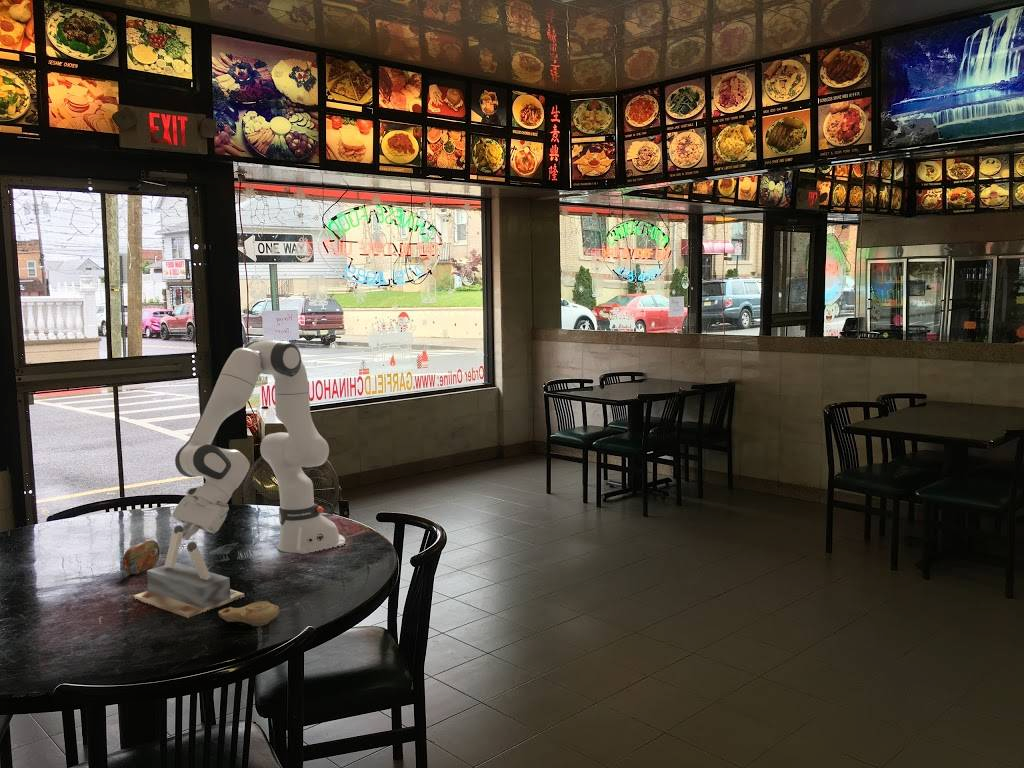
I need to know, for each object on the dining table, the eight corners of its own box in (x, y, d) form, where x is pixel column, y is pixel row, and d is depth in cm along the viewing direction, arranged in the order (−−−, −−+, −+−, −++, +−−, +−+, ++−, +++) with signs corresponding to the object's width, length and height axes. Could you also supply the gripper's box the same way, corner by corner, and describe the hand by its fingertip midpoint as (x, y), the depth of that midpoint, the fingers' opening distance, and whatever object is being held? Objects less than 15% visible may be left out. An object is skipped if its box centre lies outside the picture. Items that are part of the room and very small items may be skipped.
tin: (131, 578, 255) (129, 551, 254) (122, 577, 255) (120, 551, 254) (161, 562, 269) (159, 537, 268) (152, 561, 270) (150, 536, 269)
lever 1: (170, 565, 243) (180, 525, 245) (176, 566, 242) (186, 526, 244) (162, 564, 241) (172, 524, 243) (168, 566, 240) (178, 525, 242)
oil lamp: (217, 623, 218) (216, 605, 218) (271, 611, 226) (270, 593, 225) (227, 637, 209) (226, 618, 209) (283, 624, 217) (282, 605, 216)
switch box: (190, 579, 252) (188, 557, 251) (244, 596, 237) (242, 573, 236) (133, 598, 237) (132, 575, 236) (187, 617, 222) (186, 592, 221)
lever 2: (206, 573, 232) (190, 539, 228) (212, 575, 231) (197, 541, 226) (198, 579, 231) (183, 544, 226) (205, 581, 229) (189, 546, 224)
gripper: (238, 510, 246) (210, 551, 240) (199, 499, 259) (171, 537, 252) (224, 499, 242) (195, 540, 236) (185, 487, 255) (157, 526, 248)
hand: (182, 538), depth 244 cm, fingers closed
